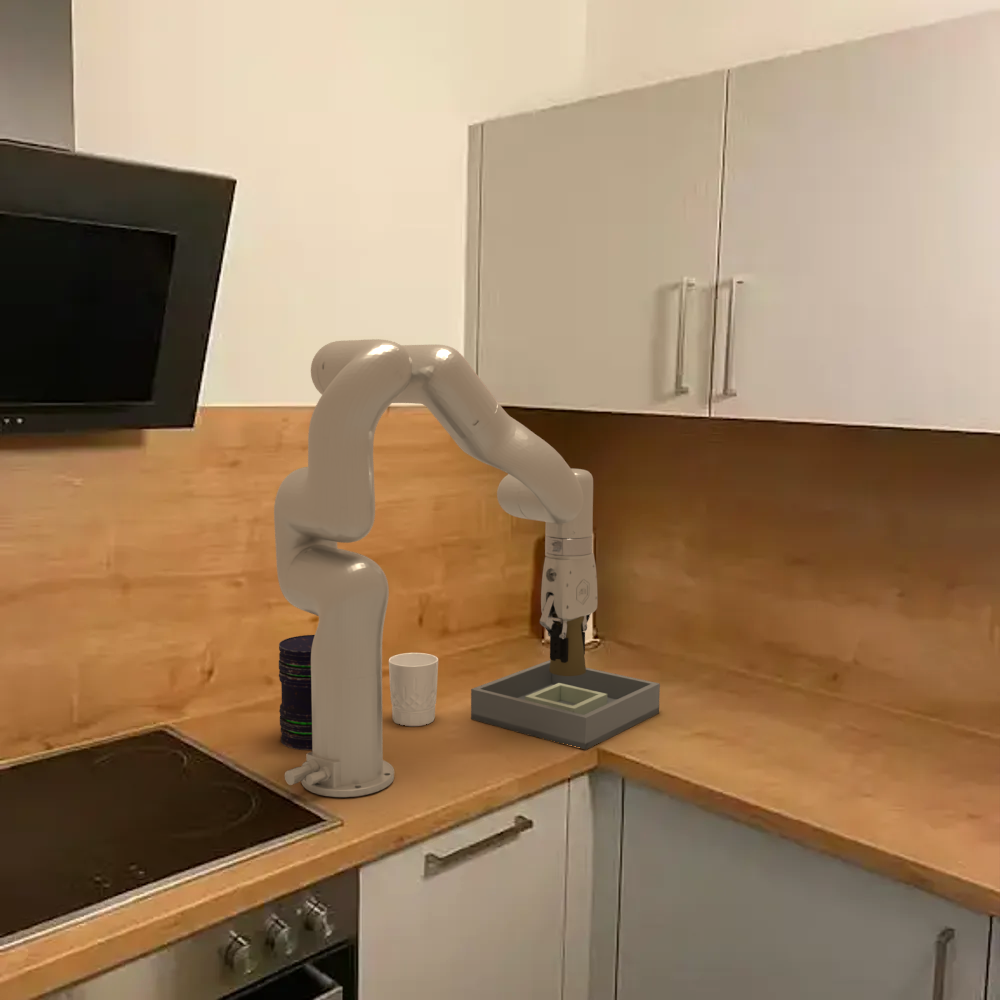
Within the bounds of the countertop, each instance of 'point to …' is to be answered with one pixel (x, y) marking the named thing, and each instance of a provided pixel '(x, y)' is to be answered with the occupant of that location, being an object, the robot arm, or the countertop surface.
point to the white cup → (413, 688)
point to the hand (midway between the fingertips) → (567, 656)
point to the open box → (565, 704)
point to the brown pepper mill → (571, 651)
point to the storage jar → (296, 692)
